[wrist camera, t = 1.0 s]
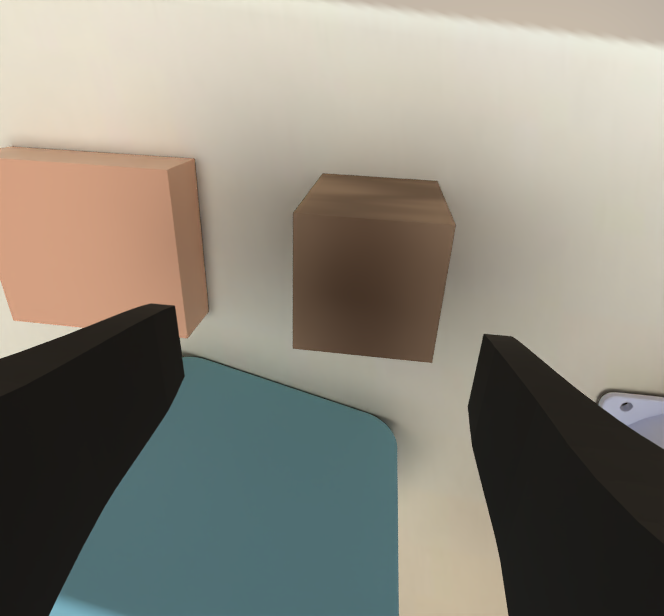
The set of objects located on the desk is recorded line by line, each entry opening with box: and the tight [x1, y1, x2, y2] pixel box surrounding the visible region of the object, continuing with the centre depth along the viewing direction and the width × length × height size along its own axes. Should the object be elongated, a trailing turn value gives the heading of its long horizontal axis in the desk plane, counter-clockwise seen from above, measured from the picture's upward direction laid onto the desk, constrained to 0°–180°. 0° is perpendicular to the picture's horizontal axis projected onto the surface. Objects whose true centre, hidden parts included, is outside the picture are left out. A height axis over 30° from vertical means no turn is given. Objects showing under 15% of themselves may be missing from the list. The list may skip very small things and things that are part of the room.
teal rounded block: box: [49, 357, 399, 616], centre depth 19 cm, size 12×4×12 cm, turn 72°
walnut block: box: [293, 173, 456, 363], centre depth 16 cm, size 4×4×6 cm
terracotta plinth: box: [0, 147, 209, 338], centre depth 19 cm, size 8×7×2 cm
